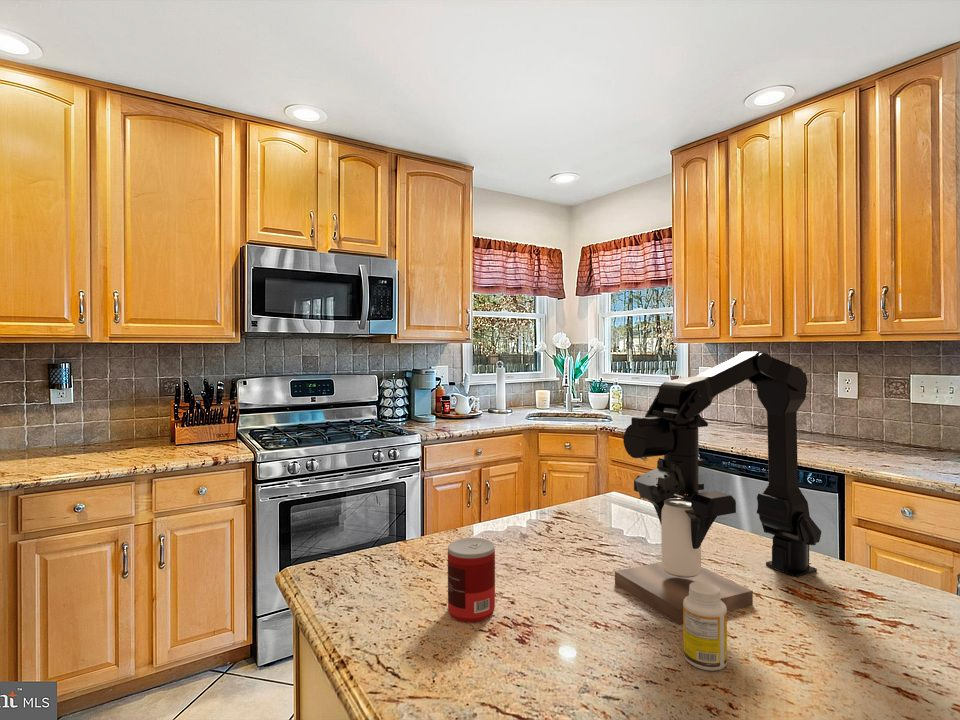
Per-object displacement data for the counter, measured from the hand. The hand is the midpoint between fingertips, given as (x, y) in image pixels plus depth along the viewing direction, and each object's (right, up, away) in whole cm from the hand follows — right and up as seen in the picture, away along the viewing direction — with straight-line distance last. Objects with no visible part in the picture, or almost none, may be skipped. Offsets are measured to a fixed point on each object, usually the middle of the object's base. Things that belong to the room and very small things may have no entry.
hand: (681, 542), depth 95 cm
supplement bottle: (-4, -10, -20) cm, 23 cm away
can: (0, -5, 0) cm, 5 cm away
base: (0, -9, 0) cm, 9 cm away
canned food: (-37, -10, -6) cm, 38 cm away
